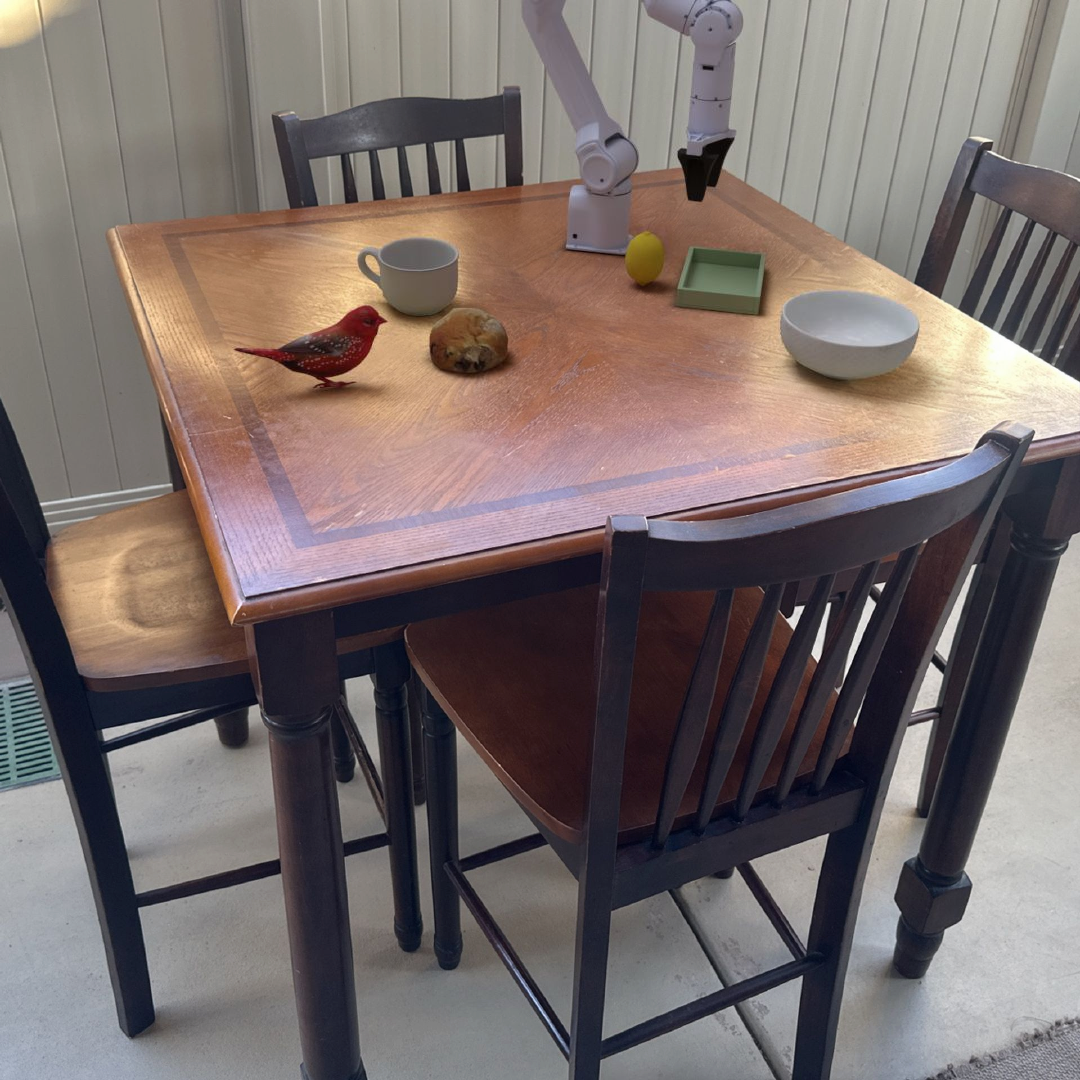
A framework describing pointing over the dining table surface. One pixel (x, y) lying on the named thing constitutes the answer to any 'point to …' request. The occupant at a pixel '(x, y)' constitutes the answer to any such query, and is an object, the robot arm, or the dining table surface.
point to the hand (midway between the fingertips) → (702, 193)
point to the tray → (721, 280)
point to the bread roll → (468, 341)
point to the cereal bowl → (848, 333)
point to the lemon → (644, 258)
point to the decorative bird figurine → (329, 347)
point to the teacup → (415, 274)
